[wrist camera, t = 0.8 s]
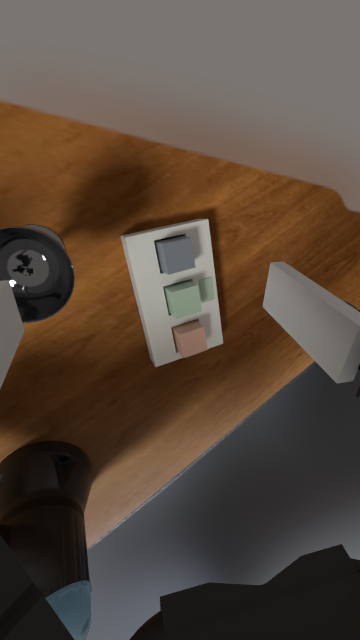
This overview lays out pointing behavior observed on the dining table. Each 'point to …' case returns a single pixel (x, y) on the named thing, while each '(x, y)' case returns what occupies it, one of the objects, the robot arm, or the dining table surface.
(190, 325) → the salmon pink button
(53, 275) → the silver goblet
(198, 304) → the sage button
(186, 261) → the slate grey button
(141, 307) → the button board
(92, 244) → the dining table surface
